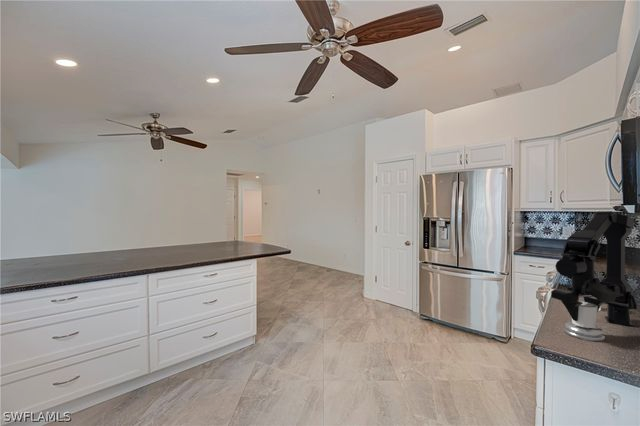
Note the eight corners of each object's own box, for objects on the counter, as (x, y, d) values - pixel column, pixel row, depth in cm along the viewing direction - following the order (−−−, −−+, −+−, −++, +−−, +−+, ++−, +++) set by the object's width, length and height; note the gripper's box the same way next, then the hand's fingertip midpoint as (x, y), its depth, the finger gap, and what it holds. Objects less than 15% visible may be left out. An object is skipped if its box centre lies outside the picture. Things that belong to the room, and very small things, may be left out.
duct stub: (562, 326, 100) (562, 319, 100) (601, 333, 94) (601, 325, 94) (565, 336, 92) (565, 328, 92) (608, 344, 86) (608, 336, 86)
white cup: (582, 320, 97) (582, 300, 97) (604, 328, 90) (603, 306, 90) (564, 320, 96) (563, 300, 96) (584, 329, 90) (583, 307, 90)
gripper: (584, 280, 84) (585, 332, 84) (636, 277, 87) (637, 327, 87) (549, 272, 95) (550, 318, 95) (596, 270, 98) (596, 314, 98)
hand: (583, 320), depth 93 cm, fingers closed on white cup, 6 cm apart
